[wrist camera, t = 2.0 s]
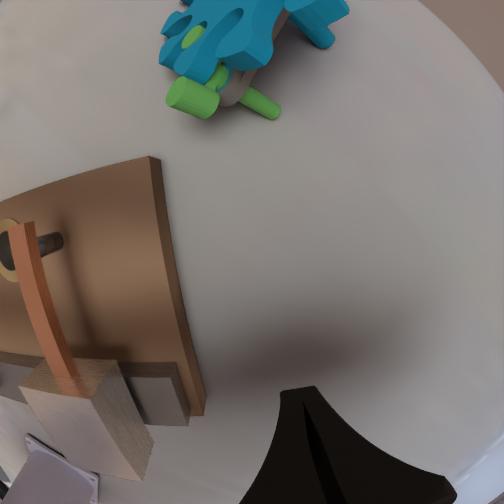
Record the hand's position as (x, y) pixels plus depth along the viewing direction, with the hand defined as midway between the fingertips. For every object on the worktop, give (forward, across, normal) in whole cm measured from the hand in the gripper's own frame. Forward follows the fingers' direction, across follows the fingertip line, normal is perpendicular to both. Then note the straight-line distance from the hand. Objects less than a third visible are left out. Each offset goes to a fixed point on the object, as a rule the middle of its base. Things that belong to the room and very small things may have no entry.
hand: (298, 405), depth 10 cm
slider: (+1, +9, -3) cm, 9 cm away
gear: (+4, 0, -16) cm, 16 cm away
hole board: (+3, +15, -4) cm, 16 cm away
